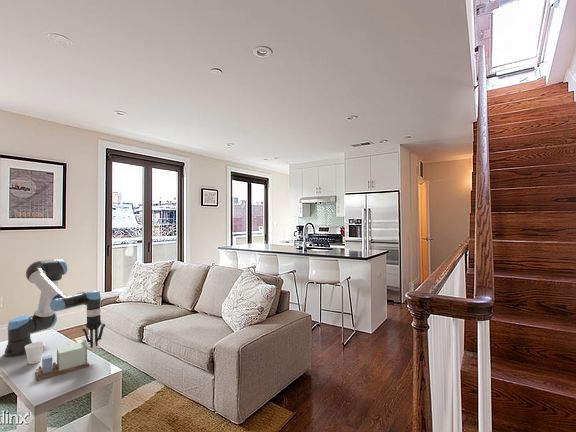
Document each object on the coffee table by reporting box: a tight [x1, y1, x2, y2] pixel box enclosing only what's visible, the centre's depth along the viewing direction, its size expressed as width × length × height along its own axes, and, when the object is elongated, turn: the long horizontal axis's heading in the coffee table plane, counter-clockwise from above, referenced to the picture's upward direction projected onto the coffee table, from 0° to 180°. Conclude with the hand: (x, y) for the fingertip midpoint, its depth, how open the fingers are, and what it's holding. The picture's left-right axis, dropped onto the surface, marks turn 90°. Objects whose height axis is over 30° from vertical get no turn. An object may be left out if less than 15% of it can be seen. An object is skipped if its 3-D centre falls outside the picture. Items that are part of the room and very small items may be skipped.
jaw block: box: [41, 354, 53, 373], centre depth 182 cm, size 4×4×8 cm
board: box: [35, 359, 90, 382], centre depth 187 cm, size 14×25×4 cm, turn 132°
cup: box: [24, 341, 45, 365], centre depth 196 cm, size 10×10×11 cm
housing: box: [56, 336, 88, 371], centre depth 190 cm, size 11×14×13 cm
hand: (94, 351), depth 198 cm, fingers closed
